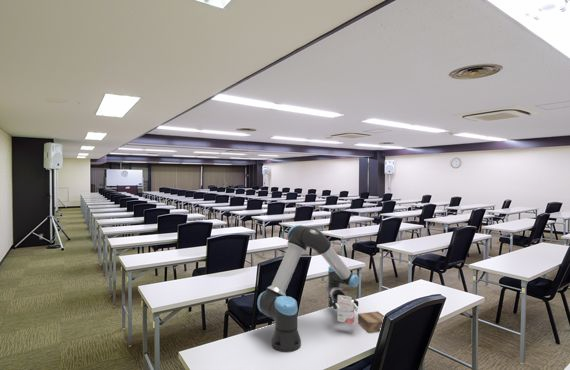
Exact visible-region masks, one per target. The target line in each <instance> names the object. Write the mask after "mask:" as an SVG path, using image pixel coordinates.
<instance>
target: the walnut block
mask: <svg viewBox="0 0 570 370" xmlns="http://www.w3.org/2000/svg"><path fill="white" fill-rule="evenodd" d="M383 317H384V315H383V314H382V313H381V312H380V311H377V310H376V311H370V312H359V313H357V323H358V325H359V326H361V327H362V329H364V330H365V331H366V332H367V333H368V334H372V333H380V332H379V331H380V328H381V325H382V321H383Z"/></svg>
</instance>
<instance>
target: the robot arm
mask: <svg viewBox="0 0 570 370" xmlns="http://www.w3.org/2000/svg"><path fill="white" fill-rule="evenodd" d="M286 236H287V237H286V238H287V246H288V247H287V249H286V252H285V254H284V256H283V258H282V261H281V262H280V265H279V267H278V270H277V272H276V274H275V276H274V279H273V280H272V283H271V285H269V286H267V287H266V290H265V291H263V292H261V293H260V294H259V295H258V298H257V303H256V305H257V309H258V310H259V312H260V313H262V314H263V315H265V316H266V317H269V318H270V319H272V320H274V332H273V335H272V337H271V338H272V339H271V346H272V348H273V349H275V350H277V351H279V352H283V353H288V352H294V351H296V350H298V349H300V348H301V346H302V338H301V336H300V333H299V330H298V309H299V308H298V302H297V300H296V299H295V298H293V297H292V296H287V295H286V290H287V289H288V286H289V284H290V282H291V280H292V277H293V274H294V272H295V270H296V268H297V265H298V263H299V260H300V258H301V256H302V254H303V253H305V252H306V251H307V248H310V249H312V250H314V251H315V252H316V253H317V254H318V255H321V257H322V258H323V259H324V260H325V262H327V264H328V265H329V266H328V272H327V274H328V276H327V278H328V284H327V286H326V290H327V292H328V294H329V295H330V296H329V297H328V302H329V308H332V309H333V310H336V312H337V311H338V313H339V312H340V307H339V306H338V304H337V300H338V295H342V296H346V294H345V293H344V291H343V290H342V289H341V284H342V285H345V286H348V287H350V288H351V287H352V288H356V287H358V285H359V284H360V277H359V275H357V274H354V273H352V272H351V270H350V268H348V266H347V265H346V264H345V262H344V261H343V260H342V258H341V257H340V255H338V252H336V251H335V250H334V248H333V247H332V243H331V241H329V239H328V237H327V236H326V235H324V233H322V231H320V230H319V229H318V228H316V227H313V226H306V225H301V224H300V225H297V224H296V225H294V226H292V227H290V228H289V230H288V231H287V235H286ZM349 297H352V296H349ZM344 299H347V298H345V297H344ZM352 300H354V312H356V313H357V312H359V310H358V308H359V301H358V300H357V299H355V298H353V297H352Z"/></svg>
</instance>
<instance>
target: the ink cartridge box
mask: <svg viewBox="0 0 570 370" xmlns="http://www.w3.org/2000/svg"><path fill="white" fill-rule="evenodd" d="M344 297H345V298H347V299H344ZM352 298H353V297H352V296H351V297H350V296H347V295H345V296H342V295H338V300H337V304H338V306H339V307H340V312H339V313H338V311H337V310H336V313H337V314H336V316H337V322H341V323H346V324H351V325H353V323H354V322H355V310H354V300H352Z"/></svg>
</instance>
